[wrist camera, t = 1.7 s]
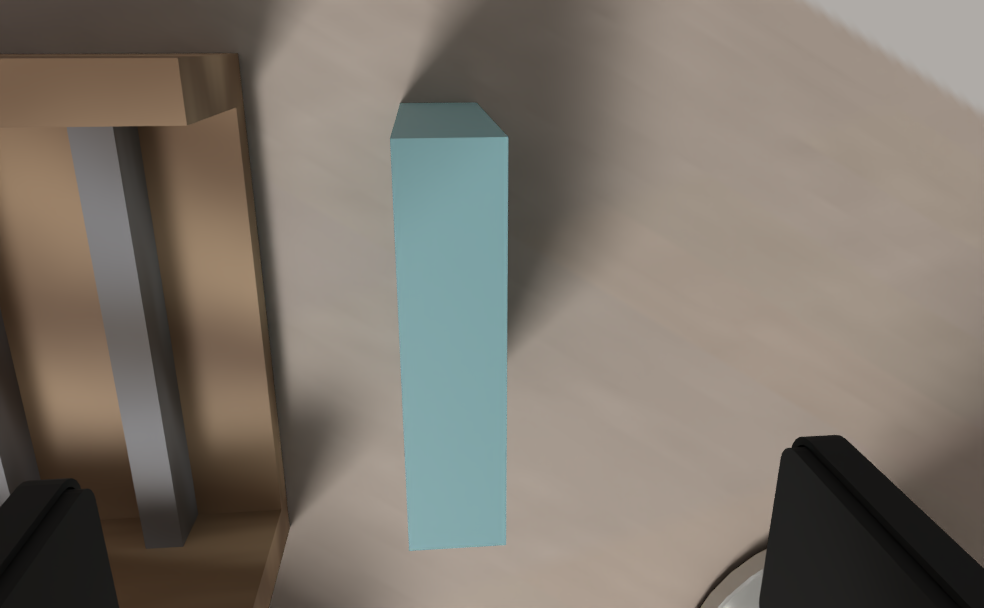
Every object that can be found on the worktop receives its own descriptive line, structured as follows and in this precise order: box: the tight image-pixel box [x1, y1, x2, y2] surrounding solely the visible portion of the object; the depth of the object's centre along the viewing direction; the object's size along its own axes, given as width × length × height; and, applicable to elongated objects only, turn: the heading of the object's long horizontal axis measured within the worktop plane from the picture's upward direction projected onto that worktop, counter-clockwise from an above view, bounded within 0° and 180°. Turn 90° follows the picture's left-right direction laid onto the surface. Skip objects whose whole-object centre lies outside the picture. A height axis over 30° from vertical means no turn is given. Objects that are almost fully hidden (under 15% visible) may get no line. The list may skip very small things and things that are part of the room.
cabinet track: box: [0, 53, 290, 608], centre depth 22 cm, size 17×12×6 cm
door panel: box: [390, 102, 508, 551], centre depth 21 cm, size 10×2×9 cm, turn 0°
